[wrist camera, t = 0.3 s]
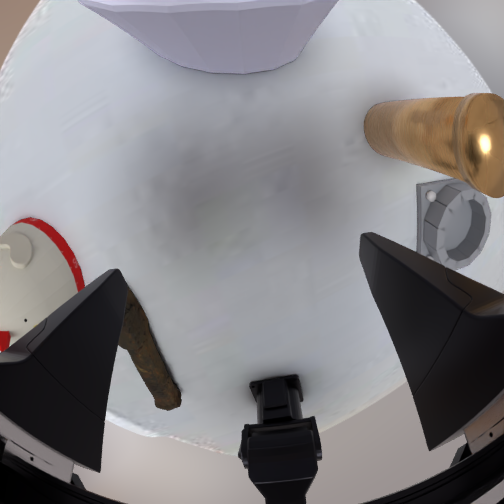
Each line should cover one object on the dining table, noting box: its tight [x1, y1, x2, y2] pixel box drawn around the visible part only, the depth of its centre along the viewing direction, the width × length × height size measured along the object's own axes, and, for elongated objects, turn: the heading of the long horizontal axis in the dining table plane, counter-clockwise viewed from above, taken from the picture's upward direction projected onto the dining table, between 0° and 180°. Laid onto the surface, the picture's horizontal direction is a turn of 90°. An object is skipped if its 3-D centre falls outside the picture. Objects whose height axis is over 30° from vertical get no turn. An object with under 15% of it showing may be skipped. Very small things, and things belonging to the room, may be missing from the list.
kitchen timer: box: [0, 218, 85, 352], centre depth 19 cm, size 14×14×15 cm
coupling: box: [364, 93, 504, 198], centre depth 14 cm, size 5×5×13 cm
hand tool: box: [118, 288, 182, 411], centre depth 28 cm, size 19×4×5 cm, turn 3°
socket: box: [417, 178, 491, 271], centre depth 22 cm, size 9×9×3 cm
